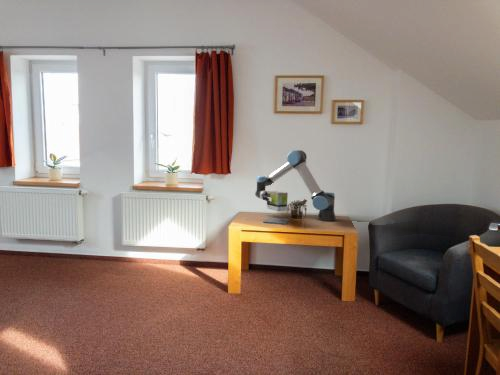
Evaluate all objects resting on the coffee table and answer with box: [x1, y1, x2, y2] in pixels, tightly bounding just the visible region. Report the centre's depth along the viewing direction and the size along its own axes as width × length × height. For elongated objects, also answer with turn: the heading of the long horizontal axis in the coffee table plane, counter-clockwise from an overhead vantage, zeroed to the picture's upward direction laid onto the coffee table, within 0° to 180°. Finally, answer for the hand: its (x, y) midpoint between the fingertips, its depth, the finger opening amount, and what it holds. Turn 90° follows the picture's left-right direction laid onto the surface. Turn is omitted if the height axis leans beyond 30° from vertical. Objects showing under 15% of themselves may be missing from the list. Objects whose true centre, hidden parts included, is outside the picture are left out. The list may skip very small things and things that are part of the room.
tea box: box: [266, 190, 288, 212], centre depth 321 cm, size 15×10×15 cm
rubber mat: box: [263, 217, 290, 225], centre depth 323 cm, size 18×18×1 cm
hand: (277, 199), depth 320 cm, fingers closed on tea box, 11 cm apart
